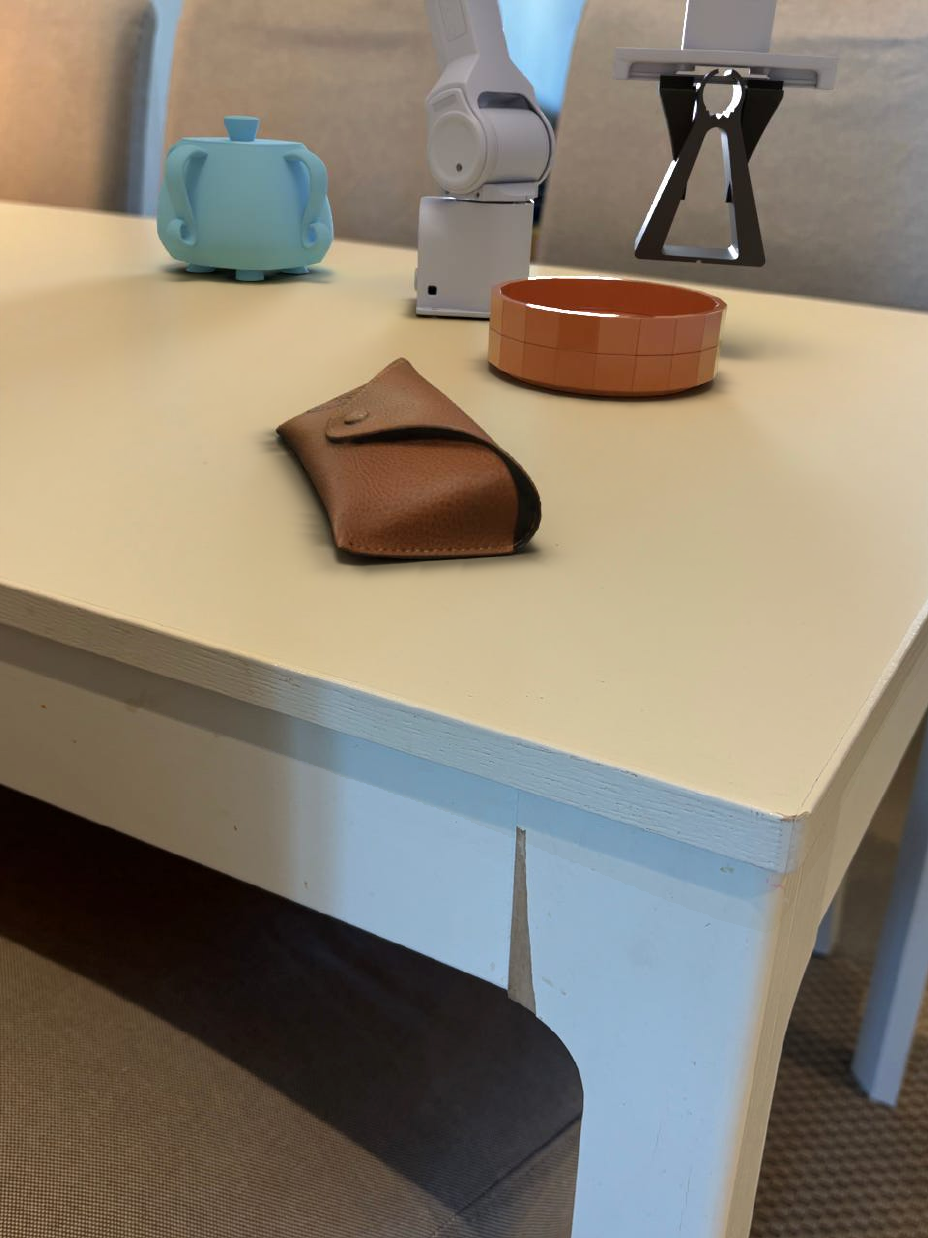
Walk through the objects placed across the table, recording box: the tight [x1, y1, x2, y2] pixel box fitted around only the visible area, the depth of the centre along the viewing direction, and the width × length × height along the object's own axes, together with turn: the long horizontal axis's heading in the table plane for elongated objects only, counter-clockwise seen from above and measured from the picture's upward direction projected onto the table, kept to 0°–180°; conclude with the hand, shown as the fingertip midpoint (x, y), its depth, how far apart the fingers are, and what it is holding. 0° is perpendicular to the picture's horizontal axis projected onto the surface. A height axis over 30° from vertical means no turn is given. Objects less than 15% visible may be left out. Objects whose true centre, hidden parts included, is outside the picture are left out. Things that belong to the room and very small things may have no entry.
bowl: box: [487, 276, 728, 398], centre depth 71 cm, size 15×15×5 cm
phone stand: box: [634, 68, 767, 268], centre depth 74 cm, size 9×6×12 cm, turn 81°
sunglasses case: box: [275, 356, 543, 560], centre depth 49 cm, size 18×7×7 cm
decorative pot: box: [156, 115, 334, 282], centre depth 100 cm, size 16×16×14 cm
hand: (704, 200), depth 75 cm, fingers closed on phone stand, 3 cm apart
